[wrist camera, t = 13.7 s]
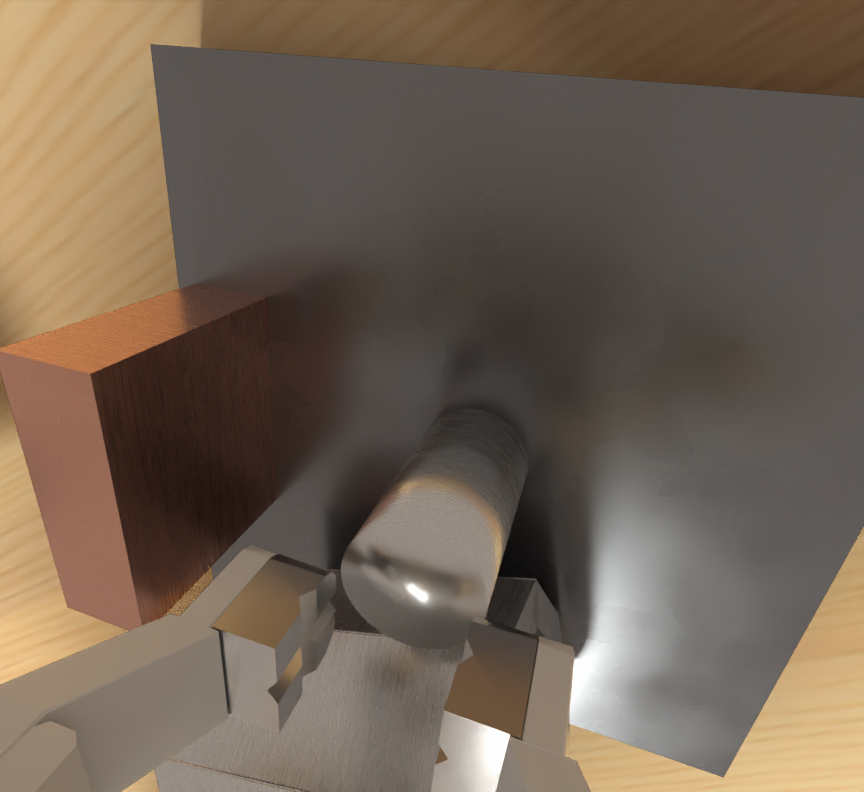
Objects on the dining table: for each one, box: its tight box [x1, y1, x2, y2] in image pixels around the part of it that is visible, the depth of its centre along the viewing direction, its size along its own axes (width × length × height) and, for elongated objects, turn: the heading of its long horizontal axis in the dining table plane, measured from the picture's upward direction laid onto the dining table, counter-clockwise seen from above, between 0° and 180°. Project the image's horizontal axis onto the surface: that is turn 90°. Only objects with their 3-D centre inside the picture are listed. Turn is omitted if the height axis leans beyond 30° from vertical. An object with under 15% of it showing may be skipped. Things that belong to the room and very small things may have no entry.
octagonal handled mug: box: [155, 569, 570, 792], centre depth 14 cm, size 6×10×7 cm
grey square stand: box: [0, 44, 864, 777], centre depth 12 cm, size 16×16×6 cm
